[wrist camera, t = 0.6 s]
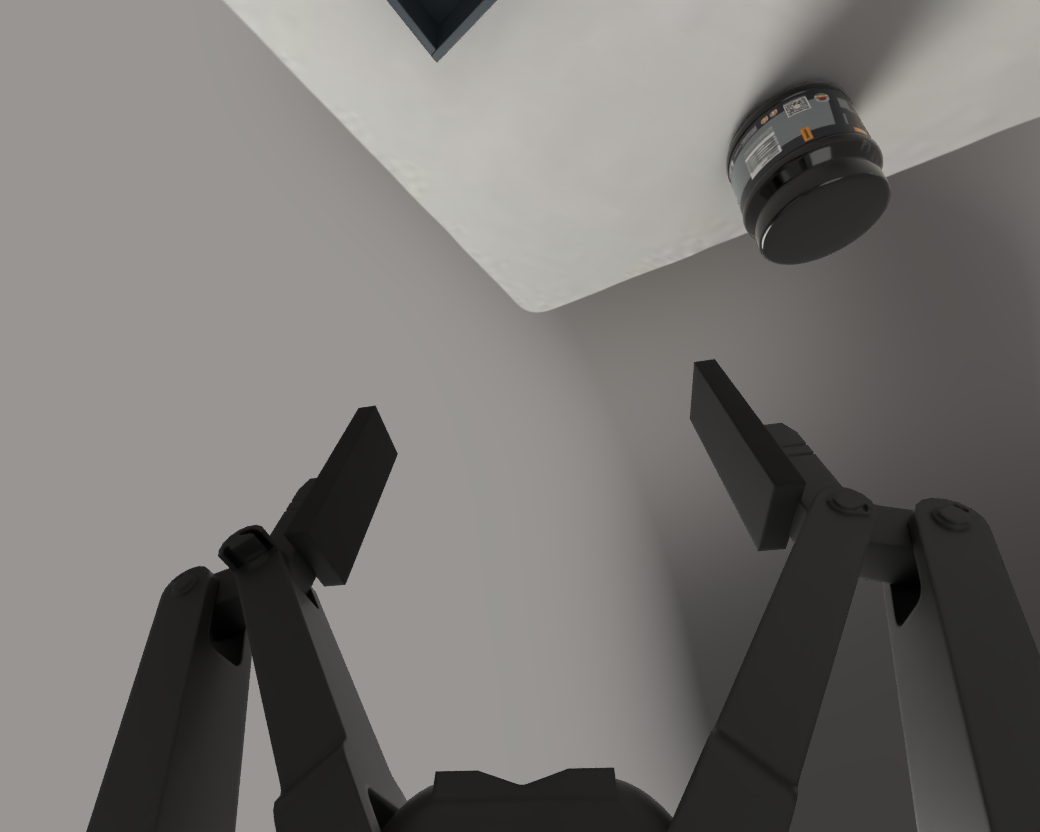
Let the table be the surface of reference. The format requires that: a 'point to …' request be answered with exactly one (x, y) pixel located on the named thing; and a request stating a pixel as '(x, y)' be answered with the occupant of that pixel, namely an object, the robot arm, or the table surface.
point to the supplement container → (807, 174)
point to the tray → (440, 20)
